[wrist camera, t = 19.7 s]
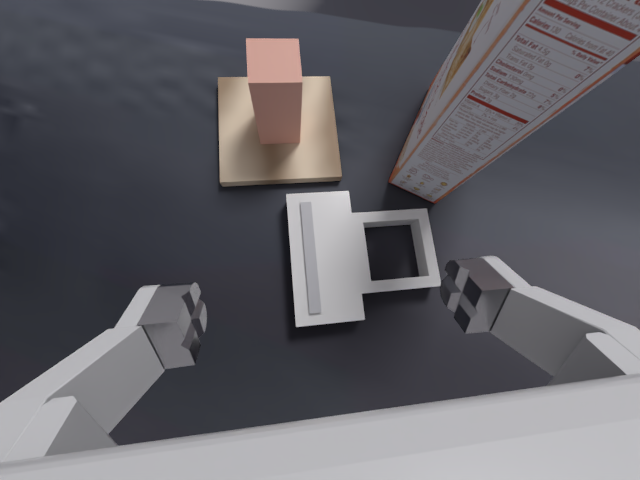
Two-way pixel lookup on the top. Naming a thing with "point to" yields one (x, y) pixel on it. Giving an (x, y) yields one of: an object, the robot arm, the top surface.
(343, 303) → the dispenser
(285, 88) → the block
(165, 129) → the top surface
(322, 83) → the board
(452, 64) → the cracker box
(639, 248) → the top surface
